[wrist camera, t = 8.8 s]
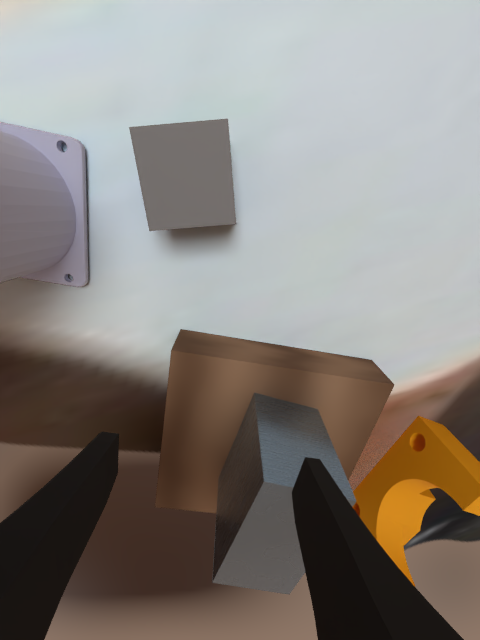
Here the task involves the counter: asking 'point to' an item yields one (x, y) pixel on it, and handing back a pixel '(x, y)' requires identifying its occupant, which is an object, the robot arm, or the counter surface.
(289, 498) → the block
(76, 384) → the counter surface
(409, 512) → the pipe clamp
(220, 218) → the grey rubber block
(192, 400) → the walnut stand
